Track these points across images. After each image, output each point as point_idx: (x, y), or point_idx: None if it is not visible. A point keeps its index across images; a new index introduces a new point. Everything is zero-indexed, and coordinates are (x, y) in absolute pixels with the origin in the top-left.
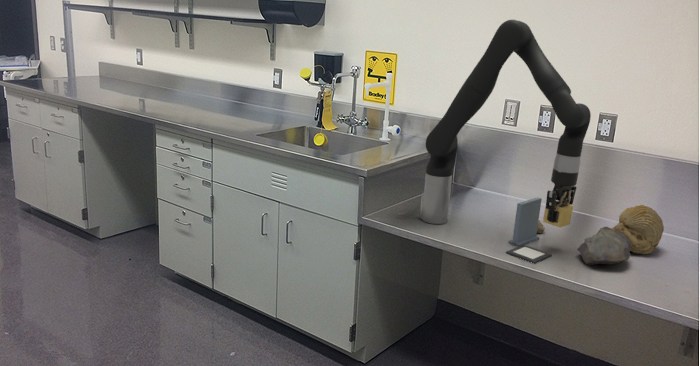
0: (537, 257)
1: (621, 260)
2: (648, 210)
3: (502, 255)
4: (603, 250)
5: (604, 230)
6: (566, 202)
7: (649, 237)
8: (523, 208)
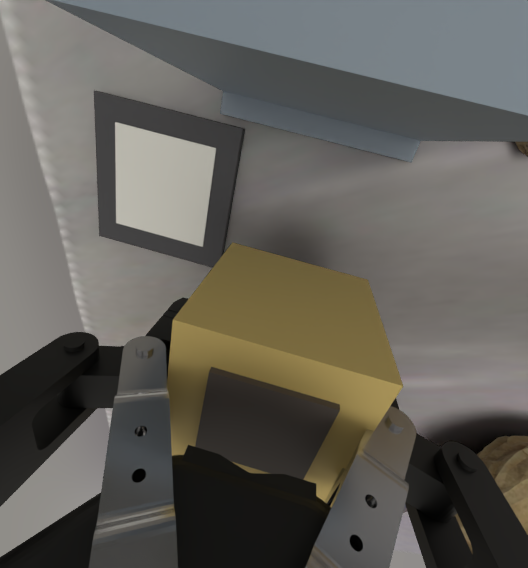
0: (147, 231)
1: None
2: None
3: (67, 89)
4: None
5: None
6: (332, 489)
7: None
8: (140, 34)
